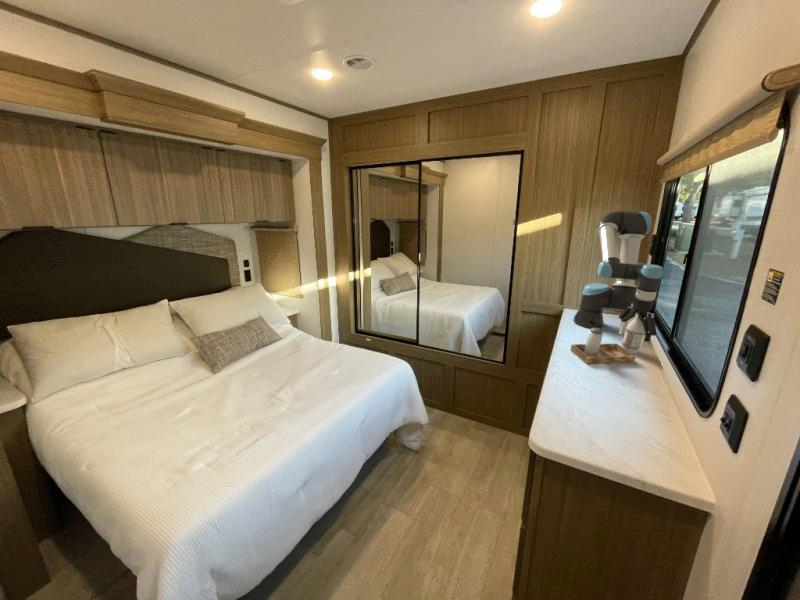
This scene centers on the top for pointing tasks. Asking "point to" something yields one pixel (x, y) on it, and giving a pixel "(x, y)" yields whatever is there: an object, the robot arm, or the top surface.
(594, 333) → the white and grey cylinder
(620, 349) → the caddy
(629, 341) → the bath foam
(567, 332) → the top surface
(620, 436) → the top surface
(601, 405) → the top surface
